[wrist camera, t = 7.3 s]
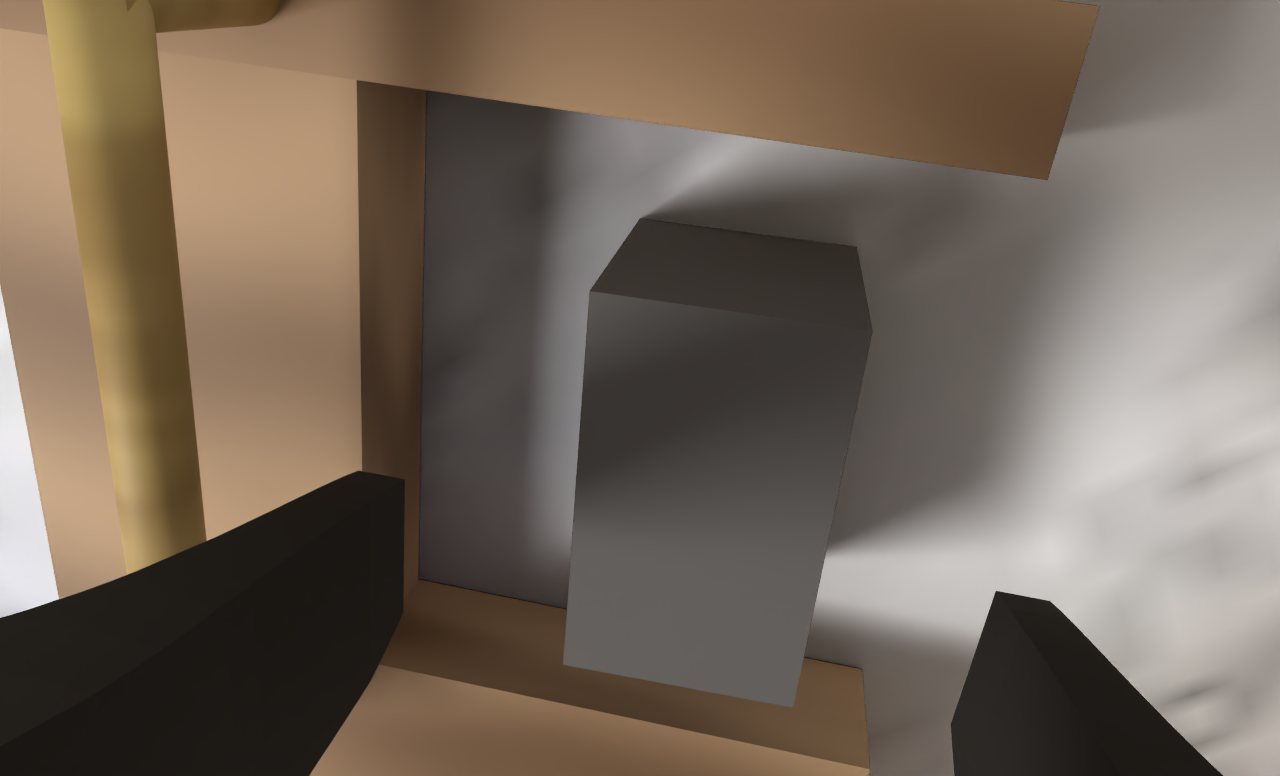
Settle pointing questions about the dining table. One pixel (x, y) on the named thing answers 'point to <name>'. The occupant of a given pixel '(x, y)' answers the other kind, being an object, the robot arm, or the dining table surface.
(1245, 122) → the dining table surface
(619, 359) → the grey rectangular block
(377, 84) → the tan wooden frame
